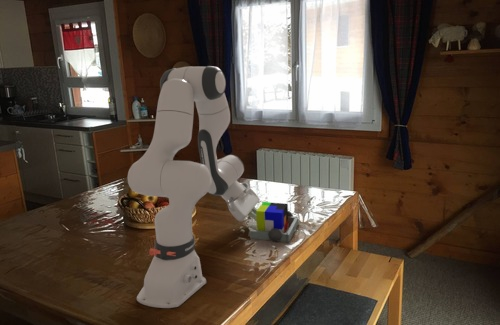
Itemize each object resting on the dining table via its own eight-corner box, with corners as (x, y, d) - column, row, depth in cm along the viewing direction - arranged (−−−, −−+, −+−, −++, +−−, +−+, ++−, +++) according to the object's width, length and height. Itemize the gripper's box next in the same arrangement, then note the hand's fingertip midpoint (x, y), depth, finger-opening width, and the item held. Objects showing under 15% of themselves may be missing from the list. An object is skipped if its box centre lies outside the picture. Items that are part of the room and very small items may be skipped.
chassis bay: (288, 243, 157) (288, 230, 156) (249, 239, 161) (248, 227, 160) (299, 222, 175) (298, 211, 173) (263, 219, 179) (263, 208, 178)
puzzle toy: (282, 237, 162) (281, 213, 159) (257, 235, 165) (256, 211, 162) (288, 227, 171) (287, 203, 169) (264, 225, 174) (263, 202, 172)
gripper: (230, 198, 159) (256, 224, 158) (247, 181, 177) (270, 205, 177) (220, 208, 161) (245, 234, 161) (238, 190, 180) (260, 214, 179)
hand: (259, 219), depth 169 cm, fingers closed
